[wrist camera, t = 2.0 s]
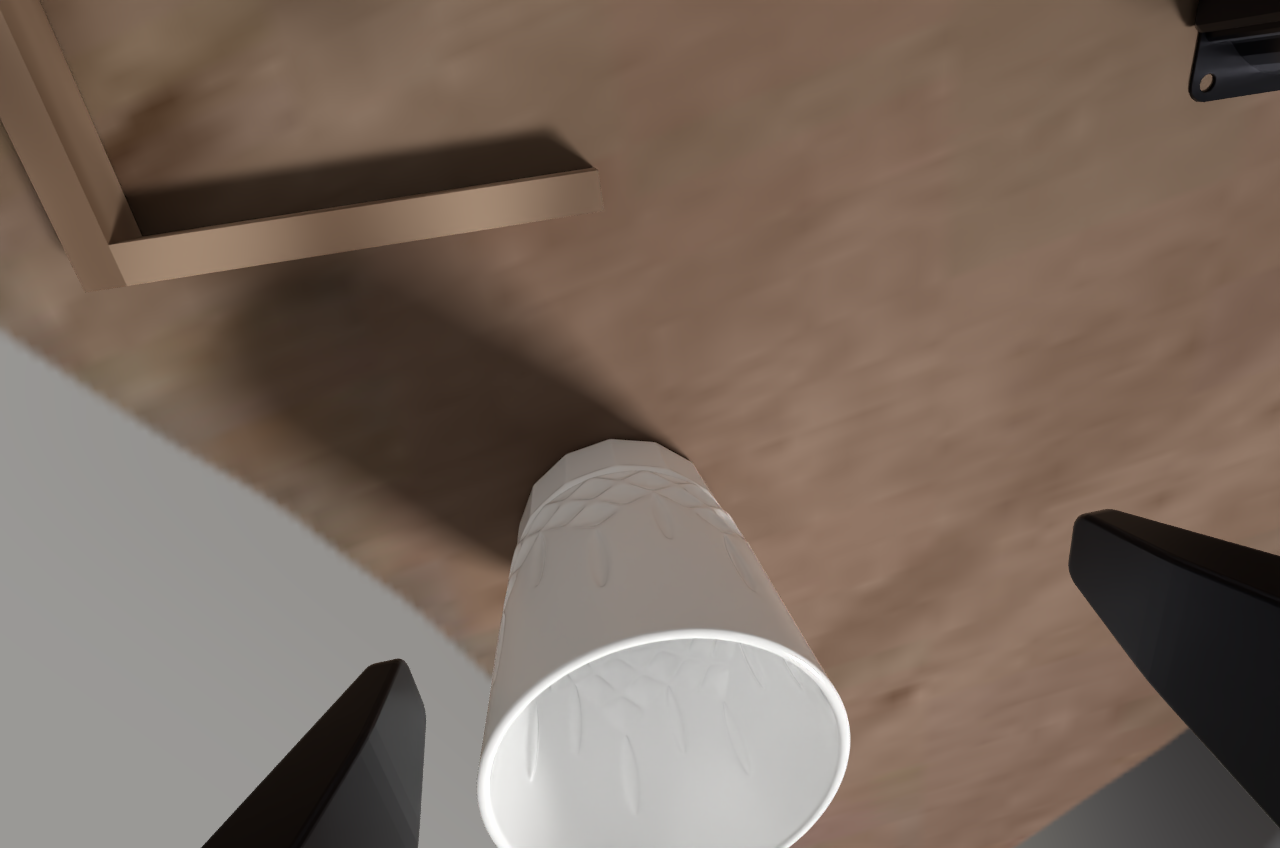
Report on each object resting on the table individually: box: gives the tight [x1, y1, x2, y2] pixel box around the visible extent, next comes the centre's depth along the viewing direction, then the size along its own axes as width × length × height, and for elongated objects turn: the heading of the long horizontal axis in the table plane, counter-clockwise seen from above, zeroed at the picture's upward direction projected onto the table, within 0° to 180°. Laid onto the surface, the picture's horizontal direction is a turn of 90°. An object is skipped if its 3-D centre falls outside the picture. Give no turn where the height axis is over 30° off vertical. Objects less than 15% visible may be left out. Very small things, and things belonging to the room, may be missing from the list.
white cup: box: [477, 439, 850, 848], centre depth 18 cm, size 8×8×10 cm
